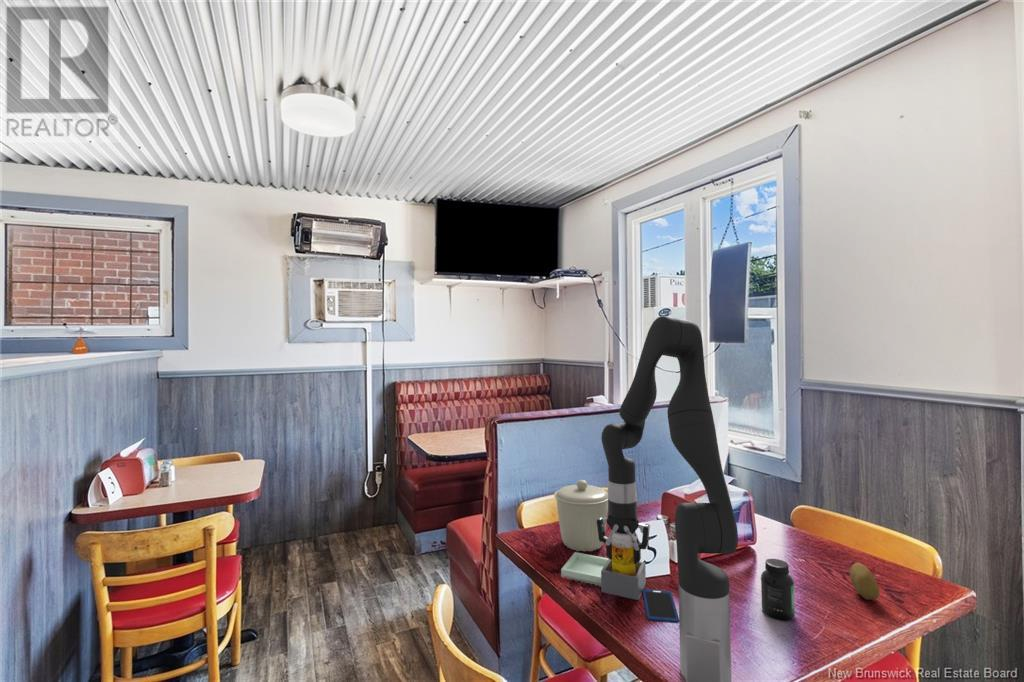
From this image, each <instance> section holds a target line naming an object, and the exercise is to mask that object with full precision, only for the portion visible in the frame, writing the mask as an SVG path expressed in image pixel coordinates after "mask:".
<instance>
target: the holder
mask: <svg viewBox="0 0 1024 682" xmlns="http://www.w3.org/2000/svg"><path fill="white" fill-rule="evenodd" d="M646 574H647V573H646V562H645V561H641V560H640V561H639V562H638V564H635V575H636V576H631V575H626V574H621V573H616V572H612V559H608V561H607V562H606V564H605V566H604V567H603V569H602V570H601V586H600V587H601V588H600V589H601V593H603V592H605V593H604V594H608V593H609V595H612V594H614V596H617V595H618V597H622V598H626V599H632V600H636V601H639V600H640V598H641V595H642V594H643V589H645V586H646V584H647V578H646Z"/></svg>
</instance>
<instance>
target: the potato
mask: <svg viewBox="0 0 1024 682" xmlns="http://www.w3.org/2000/svg"><path fill="white" fill-rule="evenodd" d="M849 577H850V582H851V584H852V586H853V588H854V590H855V591H856V592H857V593H858V594H859V595H860V596H862V598H864V599H865V600H868V601H869V600H872V601H873V600H876V599H878V598H879V597H880V593H881V592H880V587H879V584H878V582H877V580H876V579H875V576H874V574H872V572H871V571H870V569H869V568H868V567H867V566H865V565H864V564H863V563H861V562H855V563H854V564H852V565H851V566H850V570H849Z"/></svg>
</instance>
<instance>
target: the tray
mask: <svg viewBox="0 0 1024 682" xmlns="http://www.w3.org/2000/svg"><path fill="white" fill-rule="evenodd" d="M608 559H609V557H608V558H607V557H604V556H599V555H598V556H597V555H592V554H589V553H588V554H586V553H583V552H578V551H574V553H573V554H572V555H571V556H570V558H569V559H568V560H567V561H566V563H565V564H564V565H563V566H562V567H561V569H560V572H561V573H560V578H561V577H566V578H570V579H574V580H577V581H576V582H578V581H581V582H580V583H583V582H585V583H584V584H587V583H590V584H589V585H592V584H595V585H594V586H597V585H599V586H598V587H601V570H602V569H603V567H604V566H605V564H606V562H607V561H608Z"/></svg>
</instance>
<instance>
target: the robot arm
mask: <svg viewBox="0 0 1024 682" xmlns="http://www.w3.org/2000/svg"><path fill="white" fill-rule="evenodd" d="M703 343H704V342H703V336H702V331H701V329H700V327H699V326H698V325H697V324H696V322H693V321H691V320H689V319H683V318H677V317H674V316H667V315H661V316H659V317H657V318H656V319H654V321H653V322H652V324H651V325H650V327H649V329H648V332H647V334H646V337H645V341H644V343H643V347H642V350H641V354H640V356H639V360H638V362H637V367H636V370H635V374H634V377H633V379H632V382H631V385H630V388H628V391H627V392H626V395H625V397H624V400H623V401H622V403H621V406H620V408H619V411H618V412H619V416H620V419H622V420H623V421H622V422H615V423H609V424H607V425H605V426H604V428H603V430H602V432H601V438H600V439H601V444H602V447H603V451H604V455H605V459H606V462H607V467H608V468H607V469H608V485H607V492H608V513H607V518H603V517H599V519H598V520H597V528H598V536H599V541H600V542H604V543H603V544H605V548H606V551H605V553H606V554H605V555H606V558H607V557H608V558H609V559H612V543H611V541H612V535H613V534H614V532H615V533H616V532H618V533H621V534H627V535H629V534H630V535H629V536H630V538H631V542H632V543H633V546H634V548H635V549H634V564H638V562H639V561H640V562H641V559H642V557H641V556H642V552H641V551H642V550H646V549H647V547H648V545H649V537H650V528H651V527H650V526H651V525H650V524H649V523H641V522H640V521H639V520H638V494H637V492H638V490H637V485H636V464H635V461H634V460H633V459H632V458H630V457H626V456H625V455H624V452H623V450H626V449H627V450H628V449H633V448H635V447H637V446H638V445H639V443H640V442H641V440H642V438H643V435H644V434H643V433H644V431H645V424H646V420H647V418H648V416H649V414H650V412H651V411H652V409H653V406H654V405H655V403H656V399H657V394H658V393H657V392H658V391H657V382H656V368H657V365H658V363H659V360H660V359H661V358H662V356H664V357H665V356H666V357H672V358H676V359H677V361H678V365H679V382H678V384H677V386H676V388H675V390H674V392H673V394H672V396H671V399H670V400H669V403H668V406H667V409H666V410H667V421H668V428H669V435H670V439H671V440H670V441H671V442H672V444H673V446H674V447H675V449H676V451H678V453H679V454H680V455H681V456H682V458H683V459H684V460H685V461H686V462H687V464H688V465H689V466H690V467H691V468H692V469H693V472H695V474H696V475H697V476H698V478H699V480H700V482H701V483H702V485H703V487H704V490H705V493H706V495H707V499H708V502H681V503H679V504H677V506H676V508H675V513H674V529H675V541H676V556H677V557H676V558H677V559H676V561H677V573H678V575H677V577H678V579H677V580H678V617H679V622H678V624H679V626H678V627H679V661H680V662H679V665H680V666H679V667H680V674H681V677H682V678H683V679H684V680H685V682H732V656H731V655H732V650H731V647H732V645H731V642H732V641H731V605H730V604H731V602H730V601H731V599H730V598H731V597H730V596H731V595H730V593H731V592H730V580H729V575H728V574H727V572H725V570H723V569H722V568H721V567H718V566H717V565H714V564H712V563H710V562H706V561H704V560H702V559H700V558H698V556H699V554H715V555H716V554H719V555H723V554H727V555H728V554H729V555H730V554H734V553H735V552H736V551H737V549H738V546H739V545H738V544H739V533H738V524H737V520H736V516H735V513H734V509H733V505H732V501H731V499H730V498H731V497H730V494H729V491H728V490H729V489H728V486H727V482H726V479H725V475H724V470H723V467H722V462H721V461H722V460H721V457H720V456H721V455H720V450H719V444H718V438H717V429H716V426H715V420H714V415H713V410H712V406H711V401H710V396H709V390H708V384H707V383H708V382H707V377H706V369H705V356H704V345H703ZM606 523H607V524H606ZM605 525H606V526H607V525H608V527H609V528H610V533H609V535H608V536H606V533H605ZM638 529H639V530H640V533H641V534H642V539H641V542H640V539H639V537H638V534H637V533H636V531H637V530H638ZM633 533H634V535H635V537H634V536H633Z"/></svg>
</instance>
